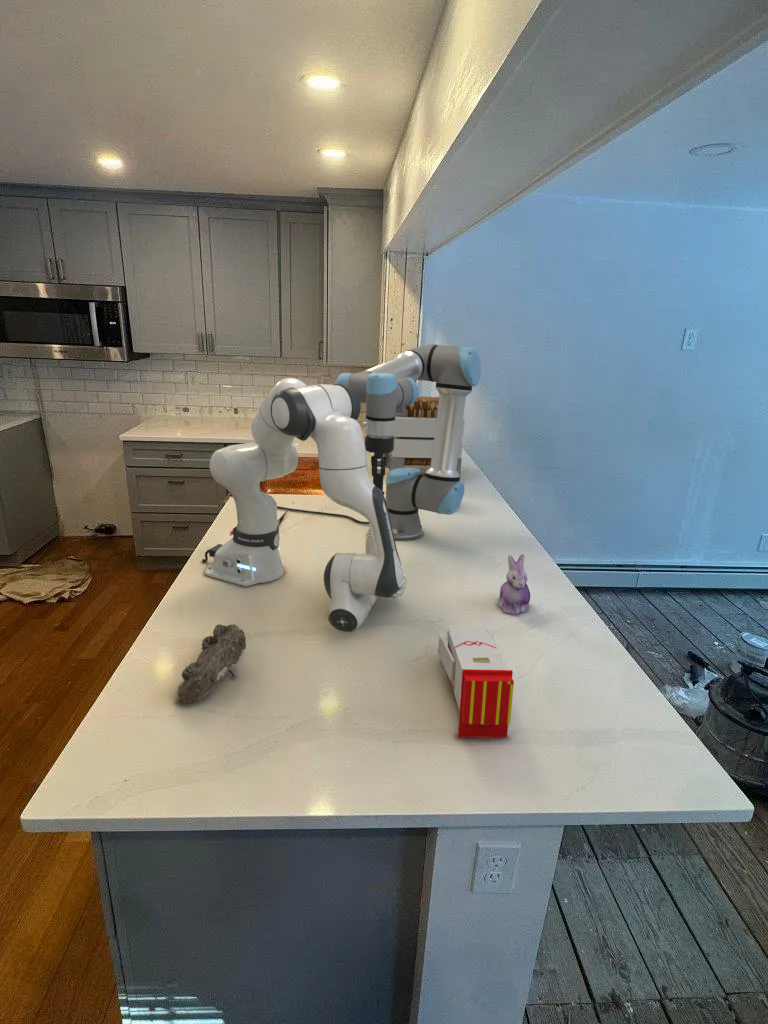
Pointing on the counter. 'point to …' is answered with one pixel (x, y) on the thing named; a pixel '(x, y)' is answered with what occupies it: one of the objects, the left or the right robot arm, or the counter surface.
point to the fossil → (212, 662)
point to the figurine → (515, 588)
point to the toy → (478, 682)
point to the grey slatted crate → (416, 435)
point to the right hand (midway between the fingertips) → (376, 521)
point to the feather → (281, 518)
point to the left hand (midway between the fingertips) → (374, 568)
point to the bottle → (370, 543)
